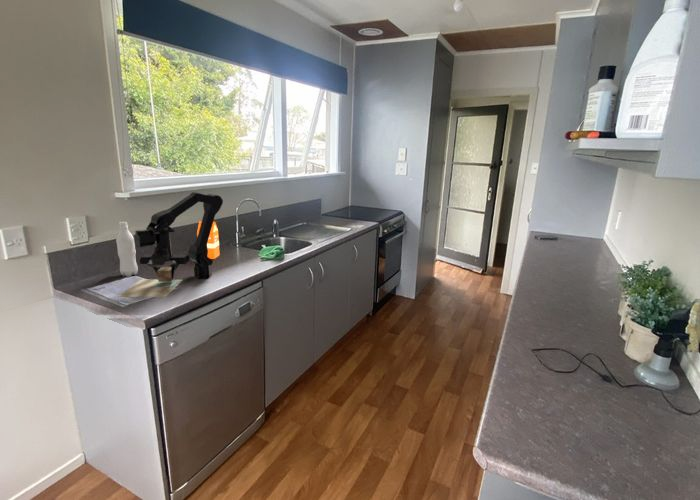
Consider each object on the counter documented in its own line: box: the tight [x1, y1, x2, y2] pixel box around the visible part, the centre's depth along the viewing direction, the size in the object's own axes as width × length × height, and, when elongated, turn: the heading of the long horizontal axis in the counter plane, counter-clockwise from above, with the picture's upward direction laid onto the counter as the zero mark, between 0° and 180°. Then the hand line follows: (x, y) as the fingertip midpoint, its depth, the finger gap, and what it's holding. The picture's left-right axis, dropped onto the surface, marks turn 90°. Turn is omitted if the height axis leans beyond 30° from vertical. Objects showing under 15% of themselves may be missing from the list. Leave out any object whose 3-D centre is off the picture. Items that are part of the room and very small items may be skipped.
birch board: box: [118, 278, 183, 298], centre depth 157 cm, size 18×20×1 cm
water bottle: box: [115, 221, 139, 277], centre depth 170 cm, size 7×7×25 cm
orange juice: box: [196, 220, 220, 260], centre depth 203 cm, size 8×9×20 cm
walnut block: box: [156, 266, 176, 282], centre depth 161 cm, size 5×5×5 cm
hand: (166, 278), depth 161 cm, fingers closed on walnut block, 5 cm apart
